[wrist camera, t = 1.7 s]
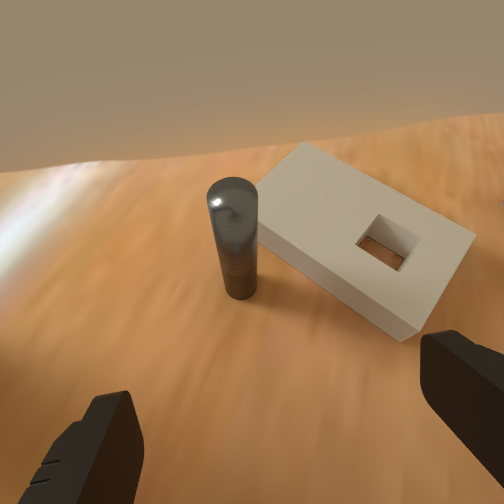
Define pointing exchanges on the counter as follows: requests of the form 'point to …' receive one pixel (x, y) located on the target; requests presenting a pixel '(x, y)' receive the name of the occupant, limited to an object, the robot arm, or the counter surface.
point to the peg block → (358, 238)
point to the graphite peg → (235, 233)
